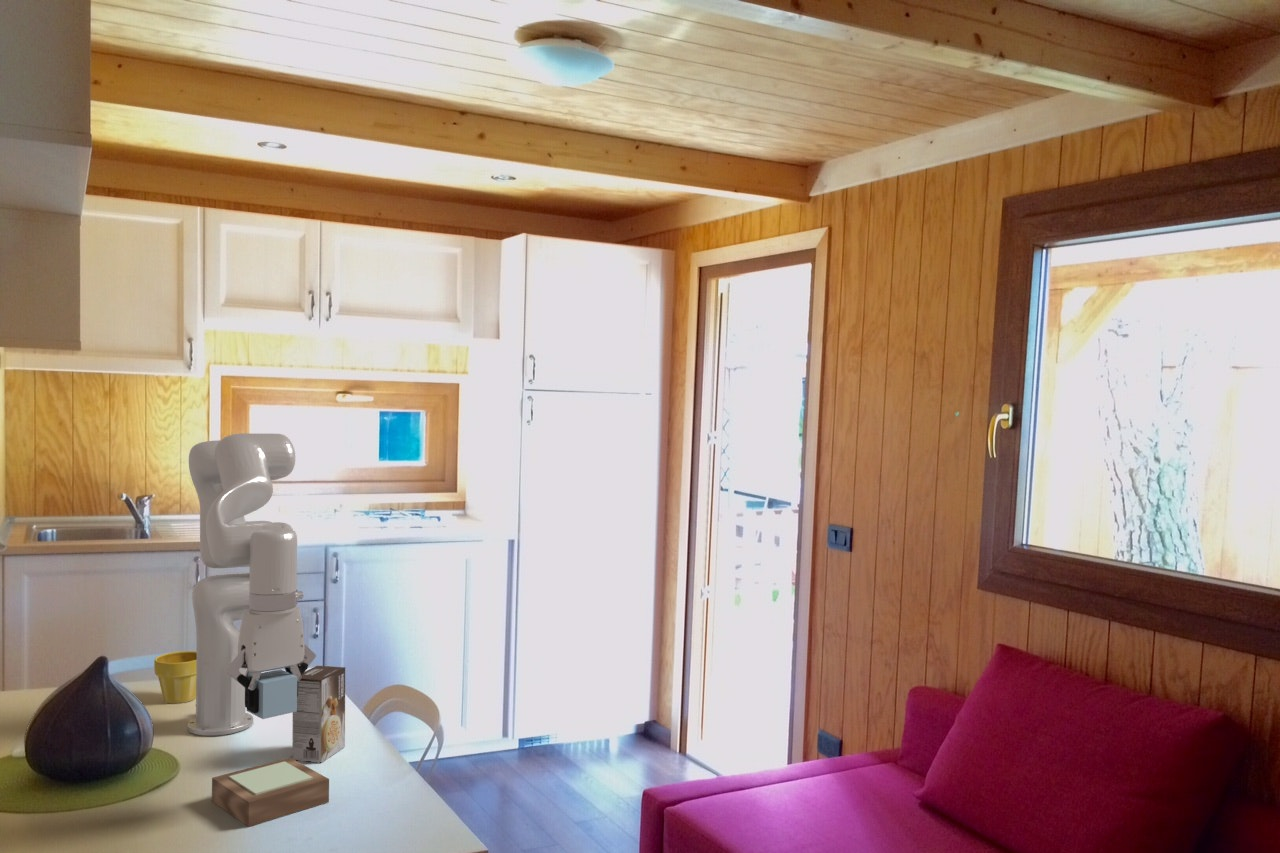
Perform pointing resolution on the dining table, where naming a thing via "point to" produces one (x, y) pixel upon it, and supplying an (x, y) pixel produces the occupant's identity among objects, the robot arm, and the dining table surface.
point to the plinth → (269, 791)
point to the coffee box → (319, 714)
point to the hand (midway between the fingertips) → (271, 706)
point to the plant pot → (177, 676)
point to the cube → (276, 694)
